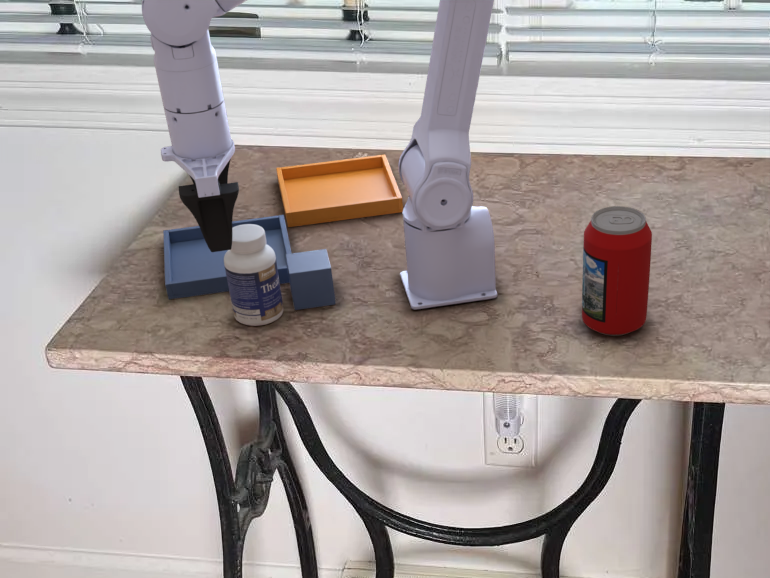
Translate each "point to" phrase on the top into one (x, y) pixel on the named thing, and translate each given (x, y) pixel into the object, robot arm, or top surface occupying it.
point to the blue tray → (213, 258)
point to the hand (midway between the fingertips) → (219, 232)
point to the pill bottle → (253, 277)
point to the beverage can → (616, 270)
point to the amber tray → (338, 190)
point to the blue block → (310, 279)
